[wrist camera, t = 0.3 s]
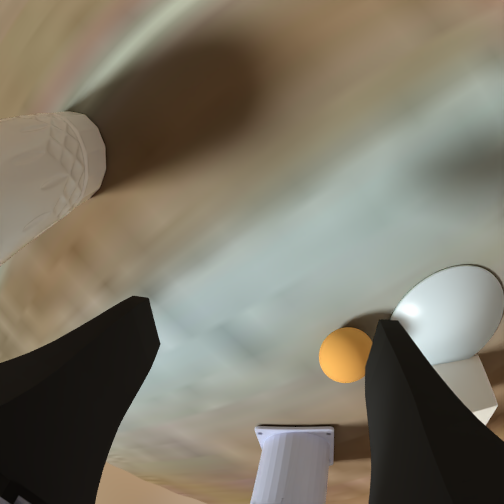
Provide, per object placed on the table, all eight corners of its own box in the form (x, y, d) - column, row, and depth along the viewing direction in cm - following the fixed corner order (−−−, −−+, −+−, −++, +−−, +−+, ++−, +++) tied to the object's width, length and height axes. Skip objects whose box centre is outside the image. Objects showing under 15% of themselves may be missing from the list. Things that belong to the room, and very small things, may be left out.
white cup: (78, 80, 16) (-47, 97, 7) (135, 168, 18) (15, 232, 9) (27, 150, 19) (-72, 191, 10) (73, 226, 21) (-19, 295, 13)
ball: (370, 352, 21) (375, 391, 18) (321, 356, 22) (319, 395, 19) (372, 313, 20) (379, 352, 16) (318, 318, 21) (316, 357, 17)
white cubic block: (461, 396, 22) (474, 442, 17) (407, 405, 24) (414, 455, 19) (478, 354, 20) (498, 405, 15) (418, 365, 21) (430, 421, 16)
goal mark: (485, 359, 20) (486, 361, 20) (381, 377, 22) (381, 379, 22) (514, 258, 16) (516, 259, 15) (390, 272, 18) (390, 274, 18)
